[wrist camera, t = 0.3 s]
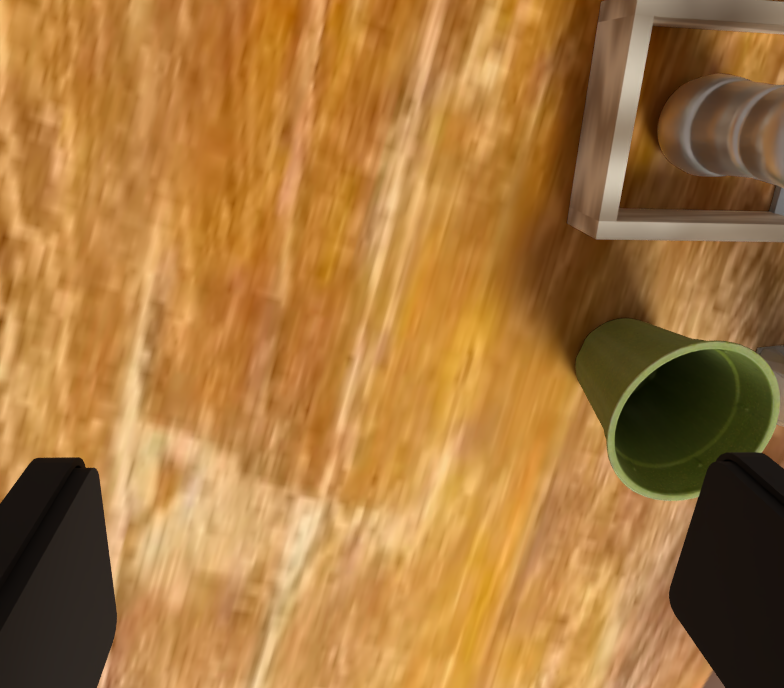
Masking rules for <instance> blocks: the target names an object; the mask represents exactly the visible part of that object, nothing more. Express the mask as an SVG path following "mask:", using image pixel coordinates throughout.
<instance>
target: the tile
mask: <svg viewBox="0 0 784 688" xmlns="http://www.w3.org/2000/svg"><path fill="white" fill-rule="evenodd" d="M769 212H772V213H776V214H780V215H783V216H784V188H782V187H779V186H777V185H776V188H775V192H774V196H773V199H772V203H771V206H770V210H769Z"/></svg>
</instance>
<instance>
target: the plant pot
mask: <svg viewBox="0 0 784 688" xmlns="http://www.w3.org/2000/svg"><path fill="white" fill-rule="evenodd" d="M575 366H576V375H577V379H578V381H579V383H580V385H581V387H582V389H583V391H584V393H585V394H586V396H587V398H588V400H589V402H590V404H591V406H592V408H593V410H594V412H595V413H596V415H597V417H598V419H599V421H600V423H601V425H602V427H603V429H604V434H605V437H606V440H607V452H608V457H609V460H610V463H611V466H612V468H613V470H614V471H615V473H616V475H617V476H618V478H619V479H620V480H621V481H622V482H623V483H624V484H625V485H626V486H627V487H628V488H629V489H631V490H632V491H634V492H636V493H638V494H640V495H643V496H645V497H648V498H652V499H656V500H664V501H679V500H687V499H692V498H696V497H699V494H700V491H701V488H702V484H703V481H704V478H705V475H706V472H707V469H708V467H709V465H710V464H711V463H713V462H716V460H717V458H718V457H719V456H720V455H721V454H723V453H726V452H758V453H762V451H763V450H764V448H765V447H766V445H767V444H768V442H769V440H770V438H771V436H772V434H773V432H774V430H775V427H776V424H777V420H778V415H779V409H780V392H779V386H778V382H777V379H776V377H775V375H774V373H773V371H772V369H771V368H770V366H769V365H768V363H767V362H766V361H765V360H764V359H763V358H762V357H761V356H760V355H759V354H757V353H756V352H754V351H753V350H751V349H749V348H747V347H745V346H742V345H740V344H736V343H732V342H727V341H704V340H698V339H691V338H688V337H685V336H682V335H680V334H677V333H674V332H671V331H668V330H665V329H662V328H660V327H657V326H654V325H652V324H649V323H646V322H643V321H640V320H636V319H630V318H621V319H616V320H612V321H609V322H606V323H604V324H602V325H601V326H599V327H598V328H596V329H595V330H594V331H592V332H591V333H590V334H589V335H588V337H587V338H586V339H585V341H584V343H583V346H582V348H581V350H580V352H579V353H578V355H577V358H576V364H575Z"/></svg>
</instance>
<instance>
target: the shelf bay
mask: <svg viewBox="0 0 784 688" xmlns="http://www.w3.org/2000/svg"><path fill="white" fill-rule="evenodd" d="M652 26H662V27H678V28H693V29H709V30H724V31H739V32H755V33H770V34H784V2H780V1H767V0H605V1H601V6H600V12H599V18H598V25H597V31H596V38H595V44H594V51H593V57H592V64H591V70H590V77H589V83H588V90H587V96H586V103H585V109H584V116H583V122H582V129H581V135H580V142H579V148H578V155H577V161H576V168H575V174H574V180H573V187H572V193H571V200H570V206H569V213H568V219H567V224H569V225H571V226H573V227H574V228H576V229H578V230H580V231H582V232H583V233H585V234H587V235H589V236H591V237H593V238H594V239H611V240H675V241H740V242H784V216H783V215H780V214H776V213H772V212H768V211H723V210H679V209H635V208H619V204H620V198H621V193H622V188H623V182H624V177H625V171H626V166H627V161H628V155H629V150H630V144H631V139H632V134H633V128H634V123H635V117H636V112H637V107H638V101H639V96H640V90H641V85H642V80H643V74H644V69H645V63H646V58H647V53H648V47H649V42H650V36H651V31H652Z"/></svg>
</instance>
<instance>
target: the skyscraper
mask: <svg viewBox="0 0 784 688" xmlns="http://www.w3.org/2000/svg"><path fill="white" fill-rule="evenodd" d="M756 353H757V354H759V355H760V356H761V357H762V358H763V359H764V360H765V361H766V362H767V363H768V365H769V366H770V368H771V369H772V371H773V373H774V375H775V377H776V379H777V382H778V386H779V392H780V409H779V415H778V420H777V425H780V426H783V427H784V345H779V346H769V347H759V348H757V350H756Z"/></svg>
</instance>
